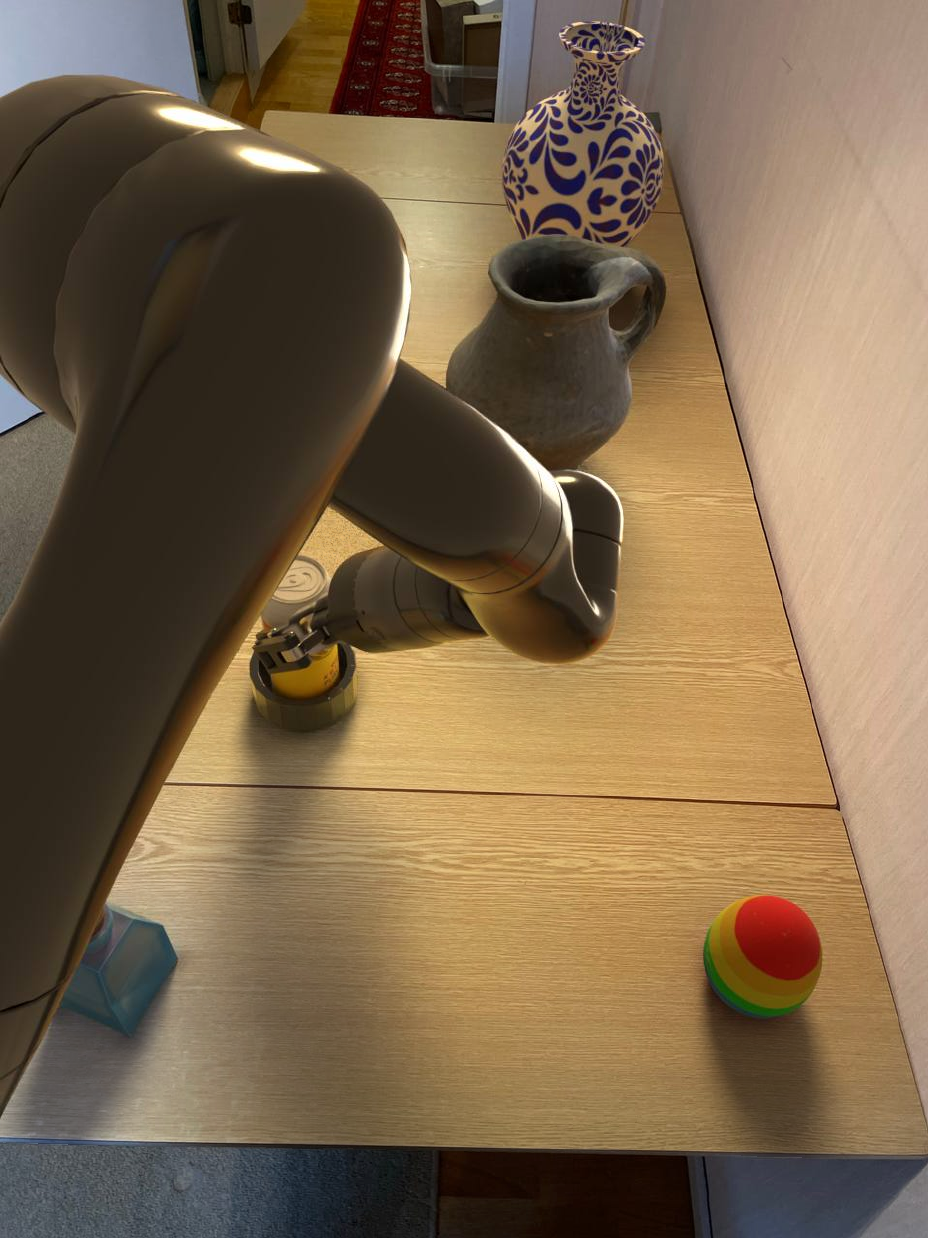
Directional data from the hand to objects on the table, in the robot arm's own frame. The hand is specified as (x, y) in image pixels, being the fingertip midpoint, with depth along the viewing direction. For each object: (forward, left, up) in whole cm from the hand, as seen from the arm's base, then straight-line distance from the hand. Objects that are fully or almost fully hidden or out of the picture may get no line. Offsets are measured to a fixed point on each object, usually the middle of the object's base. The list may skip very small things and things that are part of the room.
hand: (304, 615), depth 81 cm
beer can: (+1, +1, -11) cm, 11 cm away
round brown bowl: (+1, +1, -12) cm, 12 cm away
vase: (+72, -40, -12) cm, 83 cm away
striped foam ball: (-30, -31, -12) cm, 45 cm away
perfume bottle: (-24, +16, -12) cm, 31 cm away
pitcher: (+32, -27, -12) cm, 44 cm away
